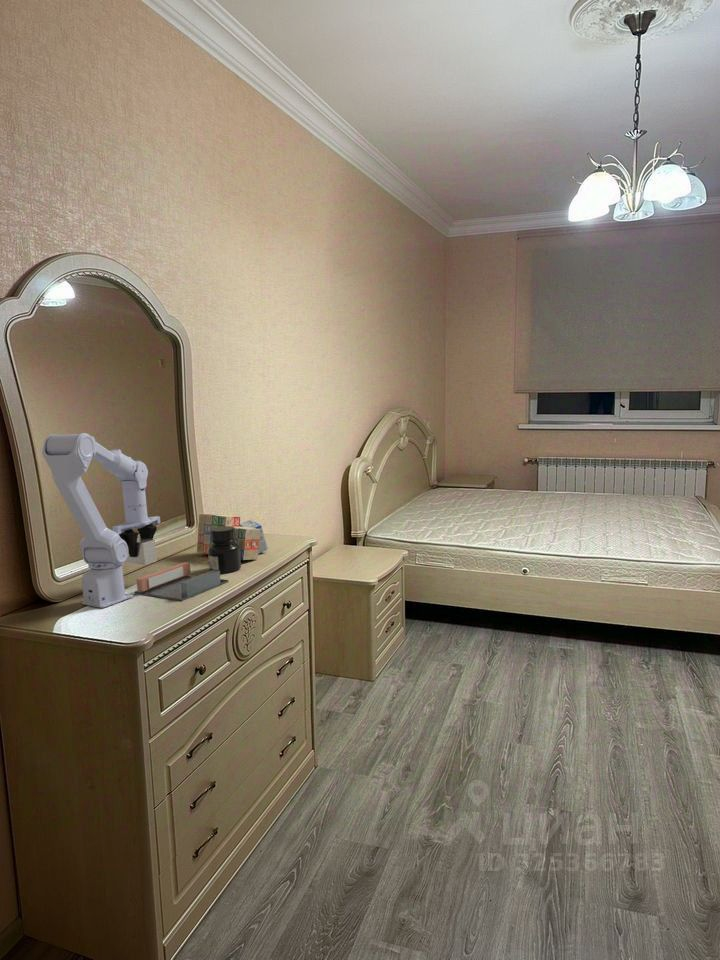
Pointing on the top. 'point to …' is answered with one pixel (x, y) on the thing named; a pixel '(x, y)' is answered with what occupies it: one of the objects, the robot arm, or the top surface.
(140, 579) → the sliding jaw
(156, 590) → the vise bed
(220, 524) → the stack of blocks
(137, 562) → the steel block
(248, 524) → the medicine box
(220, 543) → the ink bottle
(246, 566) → the top surface
